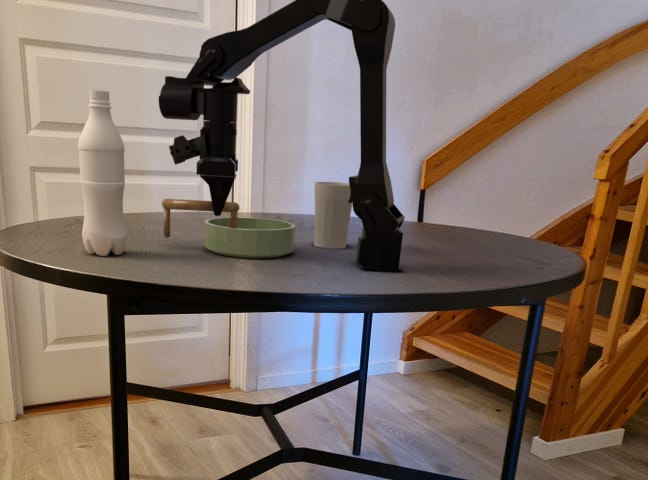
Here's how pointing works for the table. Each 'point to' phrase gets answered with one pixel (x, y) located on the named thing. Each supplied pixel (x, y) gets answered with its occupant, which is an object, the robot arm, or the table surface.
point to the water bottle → (102, 179)
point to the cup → (332, 214)
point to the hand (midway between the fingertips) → (217, 215)
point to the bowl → (249, 237)
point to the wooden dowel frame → (195, 206)
